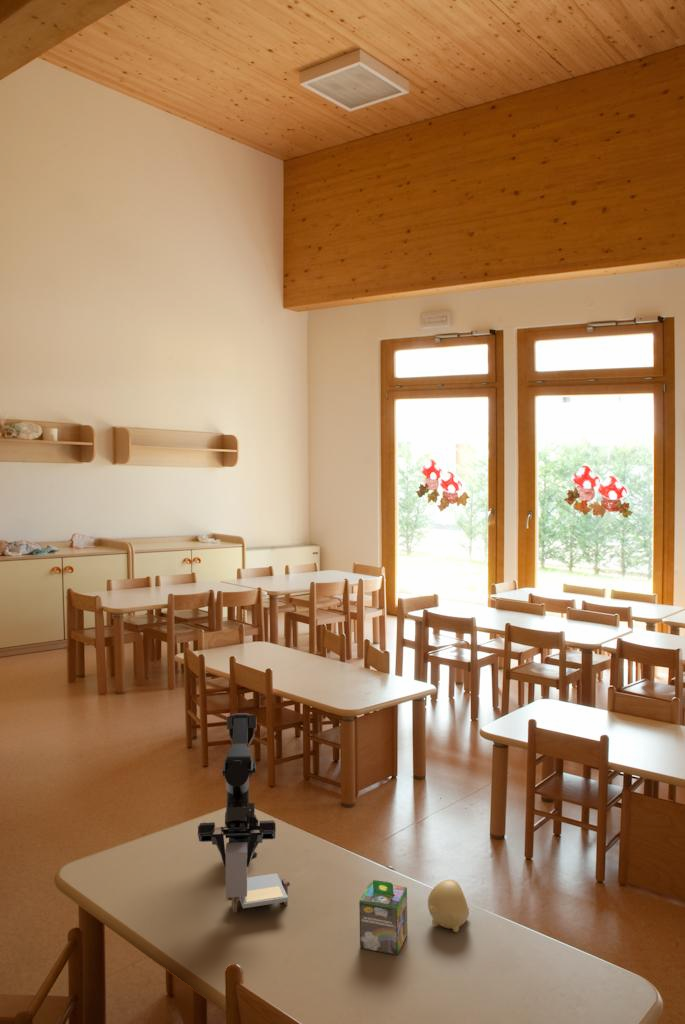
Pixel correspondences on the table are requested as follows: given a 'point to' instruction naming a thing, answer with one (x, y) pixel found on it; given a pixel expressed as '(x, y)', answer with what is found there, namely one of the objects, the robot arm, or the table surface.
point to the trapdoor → (263, 891)
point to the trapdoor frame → (285, 885)
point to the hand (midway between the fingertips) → (236, 867)
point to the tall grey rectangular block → (236, 869)
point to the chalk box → (383, 917)
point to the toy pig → (448, 905)
